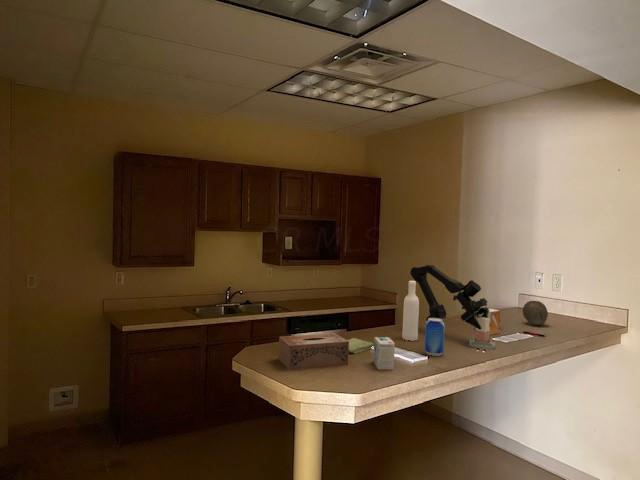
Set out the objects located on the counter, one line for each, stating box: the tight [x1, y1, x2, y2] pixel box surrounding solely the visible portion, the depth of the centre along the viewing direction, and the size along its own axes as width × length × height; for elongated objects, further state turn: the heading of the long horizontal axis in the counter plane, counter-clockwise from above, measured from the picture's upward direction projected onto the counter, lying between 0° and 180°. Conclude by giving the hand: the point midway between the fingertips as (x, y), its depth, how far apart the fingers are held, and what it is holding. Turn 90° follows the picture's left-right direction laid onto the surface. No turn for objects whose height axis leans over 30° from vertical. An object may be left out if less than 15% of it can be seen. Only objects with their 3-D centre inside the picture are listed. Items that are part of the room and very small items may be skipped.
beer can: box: [424, 318, 446, 357], centre depth 212 cm, size 8×8×16 cm
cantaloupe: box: [522, 300, 549, 327], centre depth 282 cm, size 14×14×15 cm
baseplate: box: [468, 337, 496, 350], centre depth 231 cm, size 12×12×2 cm
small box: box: [488, 308, 501, 336], centre depth 257 cm, size 8×6×13 cm
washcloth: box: [346, 337, 374, 355], centre depth 217 cm, size 13×18×3 cm
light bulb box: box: [372, 336, 396, 371], centre depth 192 cm, size 11×7×11 cm, turn 5°
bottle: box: [401, 280, 420, 342], centre depth 237 cm, size 8×8×30 cm
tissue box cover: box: [278, 332, 350, 371], centre depth 194 cm, size 26×14×10 cm, turn 111°
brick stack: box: [475, 317, 490, 343], centre depth 230 cm, size 4×4×12 cm
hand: (485, 327), depth 229 cm, fingers open, 9 cm apart
